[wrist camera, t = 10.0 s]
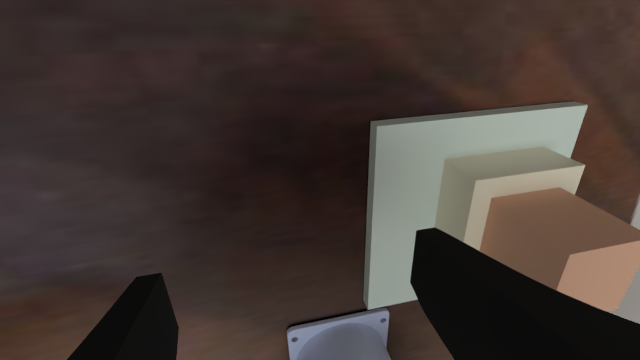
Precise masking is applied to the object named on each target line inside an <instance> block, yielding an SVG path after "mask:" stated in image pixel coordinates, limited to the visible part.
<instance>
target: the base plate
mask: <svg viewBox="0 0 640 360" xmlns="http://www.w3.org/2000/svg"><path fill="white" fill-rule="evenodd" d="M587 106H588V105H586V104H582V103H578V102H575V101H572V102H562V103H551V104H541V105H531V106H521V107H511V108H500V109H490V110H480V111H470V112H460V113H449V114H439V115H429V116H419V117H409V118H398V119H388V120H378V121H371V124H370V148H369V172H368V197H367V221H366V245H365V269H364V294H363V300H364V302H365V305H366V307H367V309H368V310H369V309H374V308H379V307H384V306H389V305H393V304H398V303H403V302H408V301H413V300H417V299H418V298H417V296H416V294H415V292H414V290H413V288H412V285H411V283H410V278H411V270H412V262H413V254H414V246H415V238H416V230H422V229H428V228H434V227H435V228H437V229H440V230H442V231H444V232H445V233H447V234H449V235H451V236H453V237H455V238H457V239H459V240H460V241H462V242H464V243H466V244H468V245H469V246H471V247H473V248H475V249H477V250H478V251H479V250H480V246H481V241H482V237H483V233H484V228H485V224H486V219H487V215H488V211H489V206H490V202H491V198H494V197H500V196H507V195H513V194H520V193H526V192H532V191H539V190H545V189H552V188H558V187H561V188H562V189H564V190H566V191H568V192H570V193H572V194H574V195H575V192H576V190H577V187H578V184H579V181H580V179H581V176H582V173H583V170H584V167H585V165H584V164H582V163H579V162H577V161H575V160H572V159H570V157H571V154H572V151H573V148H574V145H575V142H576V139H577V136H578V133H579V130H580V127H581V124H582V121H583V118H584V115H585V112H586V109H587Z"/></svg>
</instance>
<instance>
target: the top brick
mask: <svg viewBox="0 0 640 360" xmlns="http://www.w3.org/2000/svg"><path fill="white" fill-rule="evenodd" d="M479 251H480V252H482V253H484V254H486V255H487V256H489V257H491V258H493V259H495V260H497V261H499V262H500V263H502V264H504V265H506V266H508V267H510V268H512V269H514V270H516V271H518V272H520V273H521V274H523V275H525V276H527V277H530V278H532V279H534V280H536V281H538V282H540V283H542V284H544V285H546V286H548V287H550V288H552V289H554V290H557V291H559V292H561V293H563V294H565V295H568V296H570V297H572V298H575V299H577V300H580V301H582V302H584V303H587V304H589V305H591V306H594V307H596V308H599V309H601V310H603V311H606V312H610V311H614V310H617V309H618V307H619V305H620V303H621V301H622V299H623V297H624V295H625V293H626V291H627V289H628V287H629V285H630V283H631V281H632V279H633V278H634V275H635V273H636V272H637V270H638V268H639V266H640V230H638V229H637V228H635V227H633V226H631V225H629V224H627V223H626V222H624V221H622V220H620V219H618V218H616V217H614V216H613V215H611V214H609V213H607V212H605V211H603V210H601V209H600V208H598V207H596V206H594V205H592V204H590V203H588V202H587V201H585V200H583V199H581V198H579V197H577V196H575V195H574V194H572V193H570V192H568V191H566V190H564V189H562V188H561V187H558V188H552V189H545V190H539V191H532V192H526V193H520V194H513V195H507V196H500V197H494V198H491V202H490V206H489V211H488V215H487V219H486V224H485V228H484V233H483V237H482V241H481V246H480V250H479Z"/></svg>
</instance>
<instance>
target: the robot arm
mask: <svg viewBox="0 0 640 360" xmlns="http://www.w3.org/2000/svg"><path fill="white" fill-rule="evenodd" d="M410 283H411V285H412V288H413V290H414V292H415V294H416V296H417V298H418V301H419V303H420V305H421V307H422V309H423V311H424V313H425V314H426V316H427V317H428V319H429V321H430V322H431V324H432V325H433V327H434V329H435V330H436V332H437V333H438V335H439V336H440V338H441V339H442V341H443V343H444V344H445V346H446V347H447V349H448V350H449V352H450V353H451V355H452V356H453V358H454V360H640V324H638V323H635V322H632V321H630V320H627V319H624V318H621V317H619V316H616V315H614V314H611V313H609V312H606V311H603V310H601V309H599V308H596V307H594V306H591V305H589V304H587V303H584V302H582V301H580V300H577V299H575V298H572V297H570V296H568V295H565V294H563V293H561V292H559V291H557V290H554V289H552V288H550V287H548V286H546V285H544V284H542V283H540V282H538V281H536V280H534V279H532V278H530V277H527V276H525V275H523V274H521V273H520V272H518V271H516V270H514V269H512V268H510V267H508V266H506V265H504V264H502V263H500V262H499V261H497V260H495V259H493V258H491V257H489V256H487V255H486V254H484V253H482V252H480V251H478V250H477V249H475V248H473V247H471V246H469V245H468V244H466V243H464V242H462V241H460V240H459V239H457V238H455V237H453V236H451V235H449V234H447V233H445V232H444V231H442V230H440V229H437V228H435V227H434V228H428V229H422V230H416V238H415V246H414V254H413V262H412V270H411V278H410ZM388 325H389V311H388V309H387V308H379V309H374V310H369V311H364V312H360V313H355V314H350V315H345V316H340V317H336V318H331V319H326V320H321V321H317V322H312V323H307V324H302V325H297V326H293V327H290V328H289V329H288V330H287V339H288V348H289V358H290V360H391V358H390V356H389V354H388V352H387V349H386V347H387V336H388ZM178 329H179V328H178V324H177V321H176V318H175V315H174V312H173V308H172V305H171V302H170V299H169V296H168V292H167V289H166V286H165V283H164V279H163V276H162V273H158V274H152V275H146V276H140V277H136V278H135V279H134V281H133V282H132V283H131V284H130V285H129V286H128V288H127V289H126V290H125V291H124V292H123V294H122V295H121V296H120V297H119V298H118V300H117V301H116V302H115V303H114V305H113V306H112V307H111V308H110V309H109V311H108V312H107V313H106V314H105V316H104V317H103V318H102V319H101V320H100V322H99V323H98V324H97V325H96V326H95V328H94V329H93V330H92V331H91V332H90V333H89V335H88V336H87V337H86V338H85V339H84V340H83V342H82V343H81V344H80V345H79V346H78V347H77V349H76V350H75V351H74V352H73V353H72V354H71V356H70V357H69V358H68V359H67V360H176V355H177V343H178Z"/></svg>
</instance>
